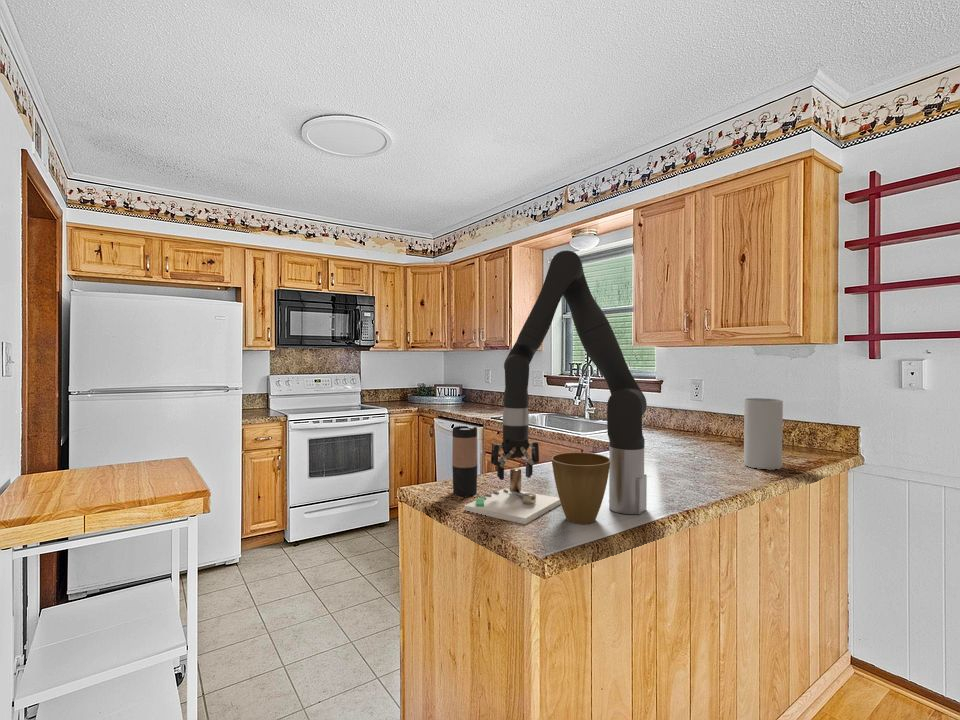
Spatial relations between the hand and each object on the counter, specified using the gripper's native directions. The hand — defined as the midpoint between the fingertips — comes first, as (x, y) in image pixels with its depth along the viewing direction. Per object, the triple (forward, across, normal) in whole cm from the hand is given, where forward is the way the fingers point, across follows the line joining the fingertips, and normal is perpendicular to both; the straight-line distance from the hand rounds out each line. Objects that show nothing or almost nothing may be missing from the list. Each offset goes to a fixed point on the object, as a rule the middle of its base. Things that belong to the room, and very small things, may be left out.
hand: (514, 478), depth 150 cm
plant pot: (+6, +9, -22) cm, 24 cm away
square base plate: (+6, -3, -6) cm, 9 cm away
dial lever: (+4, 0, -4) cm, 6 cm away
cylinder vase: (+6, +104, +7) cm, 104 cm away
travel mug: (+7, -11, +12) cm, 18 cm away
